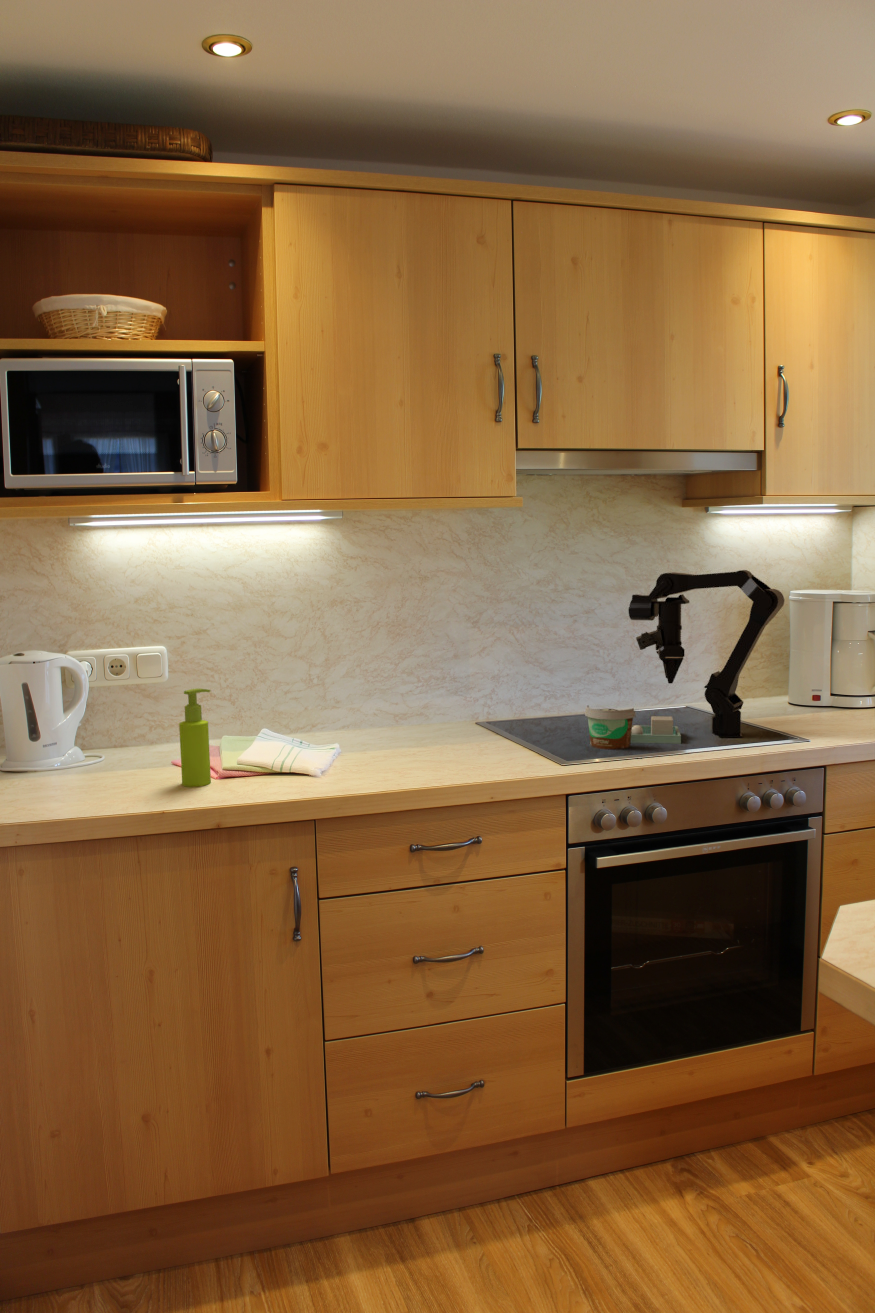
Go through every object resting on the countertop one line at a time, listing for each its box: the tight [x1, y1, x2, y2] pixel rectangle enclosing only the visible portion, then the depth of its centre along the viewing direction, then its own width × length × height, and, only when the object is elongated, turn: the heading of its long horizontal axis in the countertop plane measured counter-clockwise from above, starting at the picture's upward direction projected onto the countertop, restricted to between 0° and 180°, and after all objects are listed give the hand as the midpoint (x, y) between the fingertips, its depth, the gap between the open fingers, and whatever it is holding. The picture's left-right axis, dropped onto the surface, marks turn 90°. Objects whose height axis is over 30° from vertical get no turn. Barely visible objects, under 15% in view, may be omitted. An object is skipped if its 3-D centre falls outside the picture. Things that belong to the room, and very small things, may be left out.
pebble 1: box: [631, 724, 643, 732], centre depth 234 cm, size 3×3×3 cm
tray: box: [630, 725, 682, 745], centre depth 232 cm, size 13×12×2 cm
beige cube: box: [650, 715, 674, 735], centre depth 231 cm, size 5×5×5 cm
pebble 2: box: [632, 728, 643, 735], centre depth 230 cm, size 3×3×3 cm
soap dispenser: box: [178, 688, 212, 788], centre depth 196 cm, size 6×7×20 cm
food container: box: [584, 705, 637, 750], centre depth 222 cm, size 12×6×10 cm, turn 62°
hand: (669, 680), depth 243 cm, fingers open, 9 cm apart
